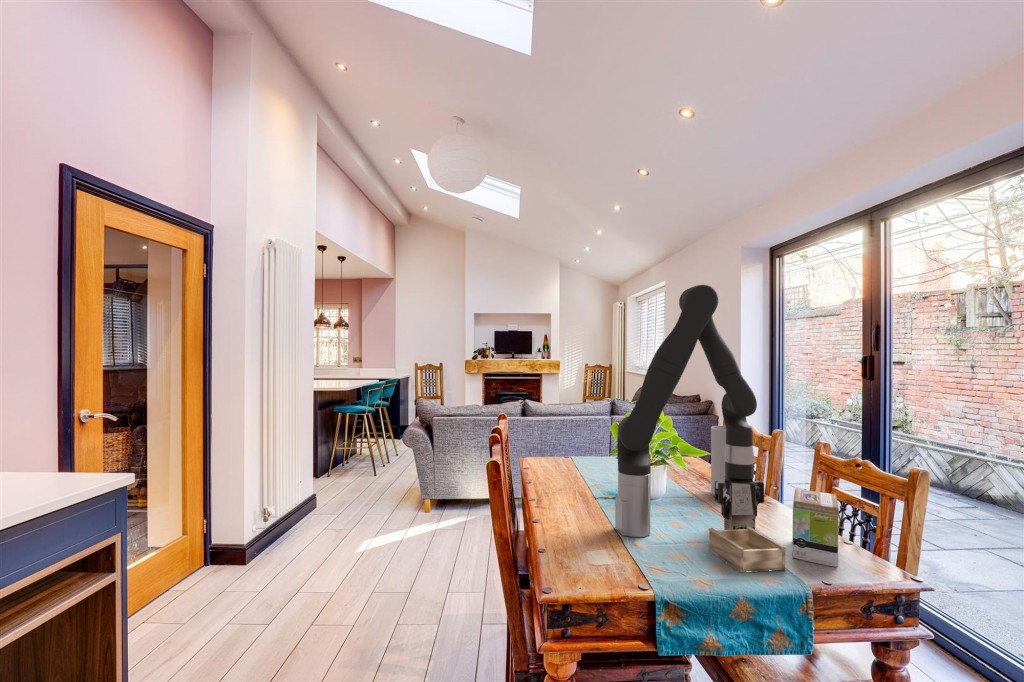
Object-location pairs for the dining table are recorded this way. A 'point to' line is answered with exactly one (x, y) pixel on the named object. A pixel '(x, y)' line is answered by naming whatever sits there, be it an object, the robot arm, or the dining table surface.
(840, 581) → the dining table surface
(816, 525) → the tea box
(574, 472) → the dining table surface
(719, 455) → the cylinder vase
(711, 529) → the crate
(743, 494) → the coffee box
